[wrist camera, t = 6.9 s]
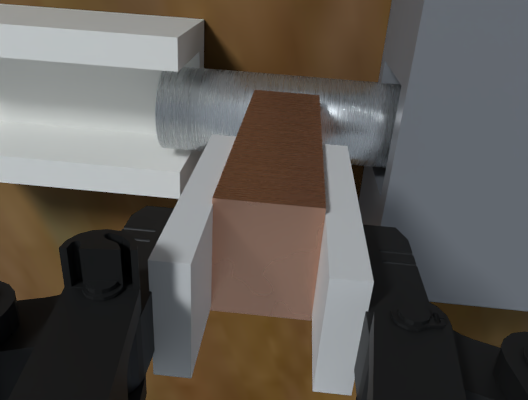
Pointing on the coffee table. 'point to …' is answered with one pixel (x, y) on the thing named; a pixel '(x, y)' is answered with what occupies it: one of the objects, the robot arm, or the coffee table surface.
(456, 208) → the socket block
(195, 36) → the white channel cradle
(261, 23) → the coffee table surface
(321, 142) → the silver peg with handle
